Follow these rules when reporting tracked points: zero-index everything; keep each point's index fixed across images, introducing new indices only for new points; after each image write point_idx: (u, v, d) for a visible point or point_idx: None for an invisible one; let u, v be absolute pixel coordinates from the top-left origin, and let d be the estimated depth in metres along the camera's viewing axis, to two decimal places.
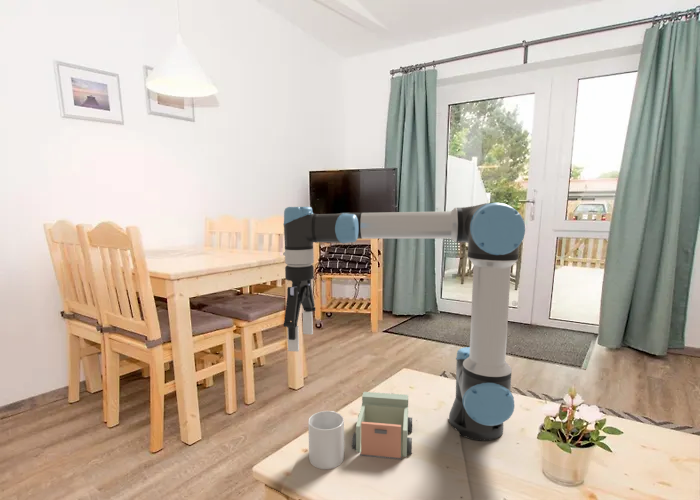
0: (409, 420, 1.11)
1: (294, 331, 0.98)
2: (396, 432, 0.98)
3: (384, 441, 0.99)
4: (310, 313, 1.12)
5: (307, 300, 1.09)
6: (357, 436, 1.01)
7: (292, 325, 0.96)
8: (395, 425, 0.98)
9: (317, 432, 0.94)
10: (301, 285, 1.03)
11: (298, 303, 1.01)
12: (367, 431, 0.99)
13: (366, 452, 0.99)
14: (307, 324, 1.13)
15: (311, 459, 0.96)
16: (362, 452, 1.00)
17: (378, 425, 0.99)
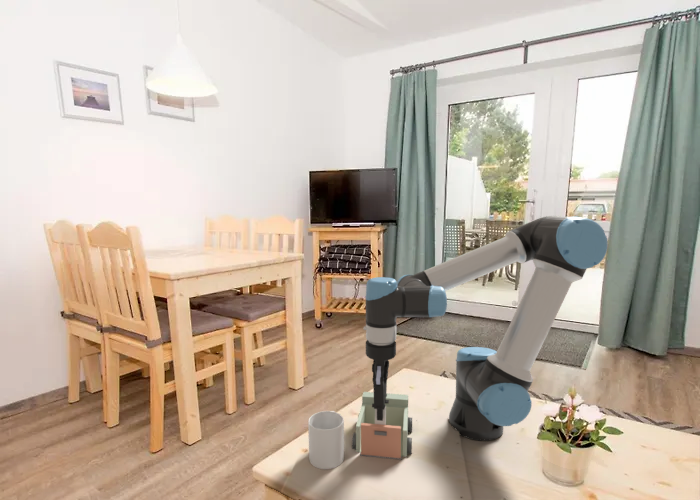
0: (409, 420, 1.11)
1: (382, 412, 0.98)
2: (396, 434, 0.97)
3: (384, 442, 0.98)
4: None
5: (384, 383, 0.99)
6: (357, 436, 1.01)
7: (382, 408, 0.95)
8: (395, 427, 0.98)
9: (317, 432, 0.94)
10: (384, 363, 0.94)
11: (383, 385, 0.96)
12: (367, 432, 0.99)
13: (366, 453, 0.99)
14: None
15: (311, 459, 0.96)
16: (362, 452, 1.00)
17: (378, 427, 0.98)
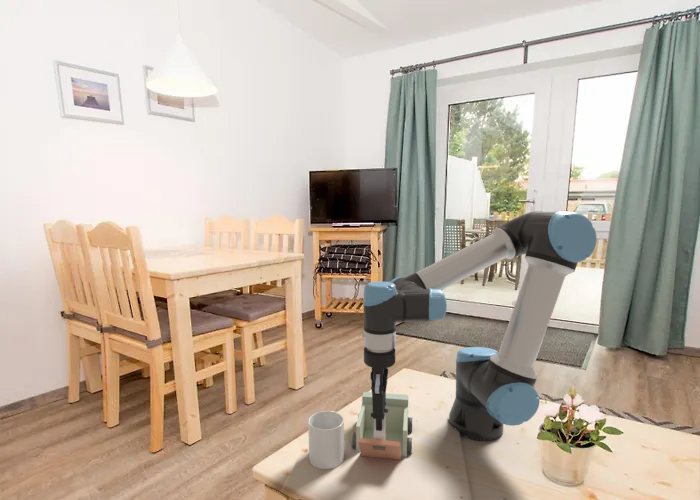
0: (409, 420, 1.11)
1: (381, 422, 0.94)
2: (395, 448, 0.94)
3: (383, 451, 0.96)
4: (383, 416, 0.95)
5: (383, 392, 0.95)
6: (357, 436, 1.01)
7: (382, 418, 0.91)
8: (394, 443, 0.93)
9: (317, 432, 0.94)
10: (383, 371, 0.91)
11: (382, 394, 0.92)
12: (365, 446, 0.95)
13: (366, 455, 0.99)
14: None
15: (311, 459, 0.96)
16: (362, 455, 0.99)
17: (376, 443, 0.94)
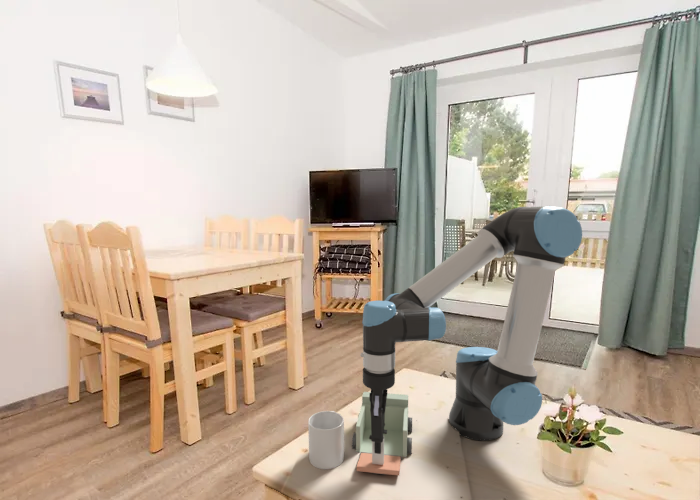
0: (409, 420, 1.11)
1: (380, 444, 0.92)
2: None
3: None
4: None
5: (382, 413, 0.93)
6: (357, 436, 1.01)
7: (381, 441, 0.89)
8: (393, 472, 0.91)
9: (317, 432, 0.94)
10: (382, 392, 0.89)
11: (381, 416, 0.91)
12: None
13: None
14: None
15: (311, 459, 0.96)
16: None
17: None
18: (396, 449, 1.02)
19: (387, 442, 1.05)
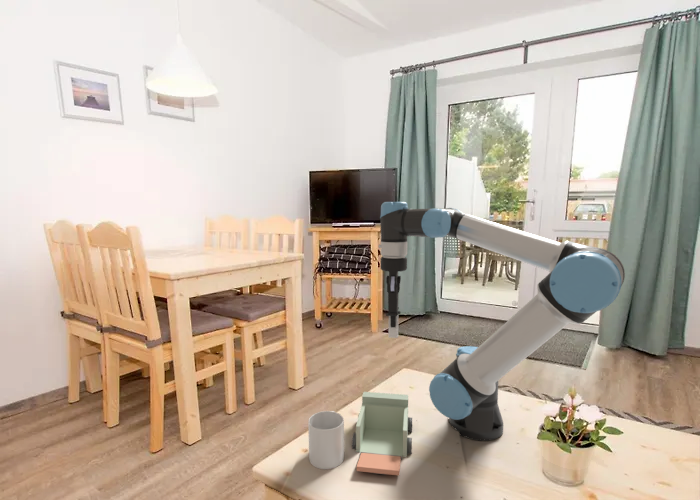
0: (409, 420, 1.11)
1: (395, 320, 1.12)
2: None
3: None
4: (396, 316, 1.13)
5: None
6: (357, 436, 1.01)
7: (396, 314, 1.09)
8: (393, 472, 0.91)
9: (317, 432, 0.94)
10: (397, 274, 1.09)
11: None
12: None
13: None
14: None
15: (311, 459, 0.96)
16: None
17: None
18: (396, 449, 1.02)
19: (387, 442, 1.05)
